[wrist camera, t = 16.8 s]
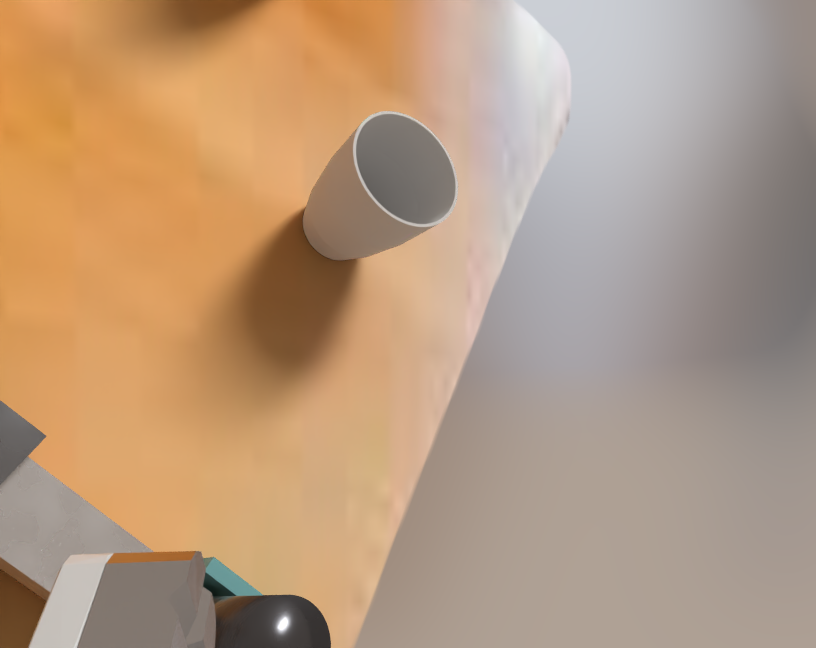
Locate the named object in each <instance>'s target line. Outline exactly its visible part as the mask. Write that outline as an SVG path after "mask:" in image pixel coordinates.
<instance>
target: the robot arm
mask: <svg viewBox="0 0 816 648" xmlns="http://www.w3.org/2000/svg"><path fill="white" fill-rule="evenodd" d="M205 572H206V567H205V564H204V560H203V557H202V553H201V552H199V551H185V552H140V553H107V554H79V555H70V557H69V558H68V559H67V560H66V561H65V563H64V564H63V565H62V566H61V568H60V570H59V572H58V575H57V577H56V580H55V582H54V585H53V587H52V589H51V592H50V594H49V597H48V599H47V602H46V604H45V607H44V609H43V611H42V614H41V616H40V619H39V621H38V624H37V626H36V629H35V631H34V633H33V636H32V638H31V641H30V643H29V646H28V648H215V634H216V616H215V605H214V601H213V596H212V593H211V592H210V591H208V590H207V589H206V588H204V587H203V582H204V577H205Z"/></svg>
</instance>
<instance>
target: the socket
mask: <svg viewBox="0 0 816 648" xmlns="http://www.w3.org/2000/svg"><path fill="white" fill-rule="evenodd" d="M203 560H204V564H205V567H206V572H205V577H204V582H203V587H204V588H206V589H207V590H208V591H210V592H211V593H212V596H259V595H262V594H261V593H260V592H258V591H257V590H256V589H255V588H253V587H252V586H251V585H249V584H248V583H247V582H246V581H244V580H243V579H242V578H240V577H239V576H238V575H236V574H235V573H234V572H233V571H231V570H230V569H229V568H227V567H226V566H225V565H224V564H222V563H221V562H220V561H218V560H217V559H216V558H214V557H210V558H203Z"/></svg>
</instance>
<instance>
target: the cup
mask: <svg viewBox="0 0 816 648" xmlns="http://www.w3.org/2000/svg"><path fill="white" fill-rule="evenodd" d="M457 195H458V182H457V176H456V171H455V168H454V165H453V162H452V160H451V158H450V156H449V154H448V152H447V150H446V149H445V147H444V146H443V144H442V143H441V141H440V140H439V139H438V138H437V137H436V136H435V134H434V133H433V132H432V131H431V130H429V129H428V128H427V127H426V126H425V125H423V124H422V123H421V122H419V121H418V120H416V119H414V118H412V117H410V116H408V115H405V114H402V113H398V112H392V111H384V112H378V113H375V114H373V115H371V116H369V117H368V118H366V119H365V120H364V121H363V122H362V123H361V124H360V126H359V127H358V128H357V129H356V130H355V131H354V132H353V134H352V135H351V136H350V137H349V138H348V139H347V141H346V142H345V143H344V144H343V145H342V146H341V148H340V149H339V150H338V151H337V152H336V153H335V154H334V156H333V157H332V158H331V160H330V161H329V163H328V165H327V166H326V168H325V169H324V171H323V173H322V174H321V176H320V177H319V179H318V181H317V182H316V184H315V186H314V187H313V189H312V191H311V194H310V197H309V200H308V203H307V206H306V208H305V211H304V215H303V229H304V232H305V235H306V237H307V239H308V241H309V243H310V244H311V245H312V247H313V248H314V249H315V250H316V251H317V252H319V253H320V254H321V255H323V256H325V257H327V258H329V259H332V260H349V259H356V258H364V257H368V256H371V255H374V254H377V253H379V252H382V251H385V250H387V249H390V248H393V247H396V246H398V245H401V244H403V243H405V242H407V241H408V240H410V239H412V238H414V237H416V236H417V235H419V234H421V233H423V232H425V231H426V230H428V229H430V228H432V227H434V226H435V225H437V224H439V223H441V222H442V221H444V220H445V219H446V218H447V217H448V216H449V215H450V214H451V212H452V211H453V209H454V207H455V204H456V200H457Z"/></svg>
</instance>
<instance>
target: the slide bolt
mask: <svg viewBox="0 0 816 648" xmlns="http://www.w3.org/2000/svg"><path fill="white" fill-rule="evenodd" d="M140 552H153V551H152V550H151V549H149V548H148V547H147V546H145V545H144V544H143V543H141V542H140V541H139V540H137V539H136V538H135V537H133V536H132V535H131V534H129V533H128V532H127V531H125V530H124V529H123V528H121V527H120V526H119V525H117V524H116V523H115V522H113V521H112V520H111V519H110V518H108V517H107V516H106V515H104V514H103V513H102V512H100V511H99V510H98V509H96V508H95V507H94V506H92V505H91V504H90V503H88V502H87V501H86V500H84V499H83V498H82V497H80V496H79V495H78V494H76V493H75V492H74V491H72V490H71V489H70V488H68V487H67V486H66V485H64V484H63V483H62V482H61V481H59V480H58V479H57V478H55V477H54V476H53V475H51V474H50V473H49V472H47V471H46V470H45V469H43V468H42V467H41V466H39V465H38V464H37V463H35V462H34V461H33V460H31V459H30V458H29V457H26V458H25V459H24V460H23V462H22V463H21V464H20V465H19V466H18V467H17V468H16V469H15V470H14V471H13V472H12V473H11V474H10V475H9V476H8V477H7V478H6V479H5V481H4V482H3V483H2V484H1V485H0V569H1V570H3V571H4V572H6V573H7V574H9V575H10V576H11V577H13V578H14V579H16V580H17V581H19V582H20V583H21V584H23V585H24V586H26V587H27V588H28V589H30V590H31V591H33V592H34V593H36V594H37V595H38V596H40V597H41V598H43V599H44V600H46V601H47V599H48V597H49V594H50V592H51V589H52V587H53V585H54V582H55V580H56V577H57V575H58V572H59V570H60V568H61V566H62V565H63V564H64V563H65V561H66V560H67V559H68V558H69V557H70V555H79V554H107V553H140ZM213 601H214V605H215V616H216V634H215V648H331V641H330V633H329V629H328V626H327V623H326V621H325V619H324V617H323V615H322V613H321V612H320V611H319V610H318V608H317V607H316V606H315V605H314V604H313V603H311V602H310V601H308V600H307V599H304V598H302V597H299V596H295V595H259V596H213Z"/></svg>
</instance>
